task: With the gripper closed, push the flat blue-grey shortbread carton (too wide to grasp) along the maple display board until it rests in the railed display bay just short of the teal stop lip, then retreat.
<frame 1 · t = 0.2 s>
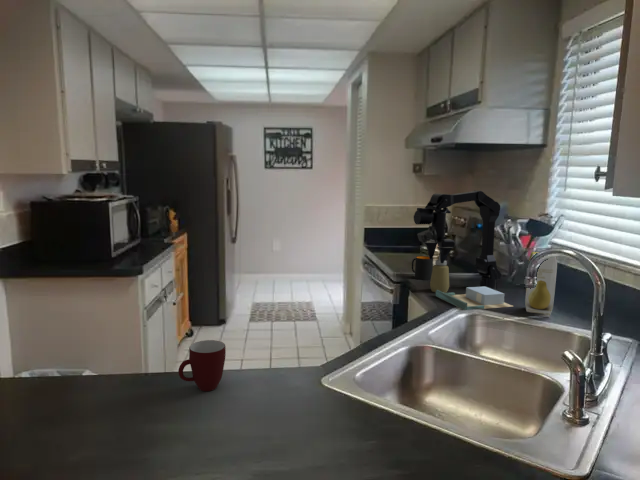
hand: (436, 260, 195), 14 cm above the worktop, fingers open, 9 cm apart
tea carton: (484, 300, 186), point 1 cm above the worktop, touching display board
display board: (473, 303, 184), on the worktop
squeeze bottle: (439, 294, 199), on the worktop
juice carton: (537, 314, 173), on the worktop
mug 2: (420, 277, 229), on the worktop
mug: (202, 389, 107), on the worktop
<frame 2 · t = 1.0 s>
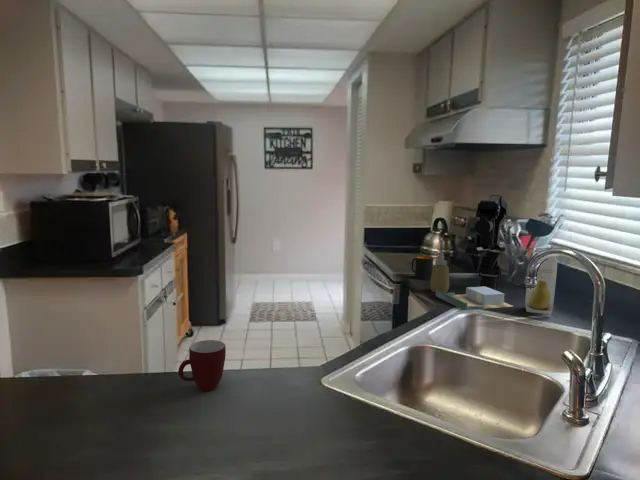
hand: (483, 269, 189), 13 cm above the worktop, fingers open, 9 cm apart
nothing on the worktop moved.
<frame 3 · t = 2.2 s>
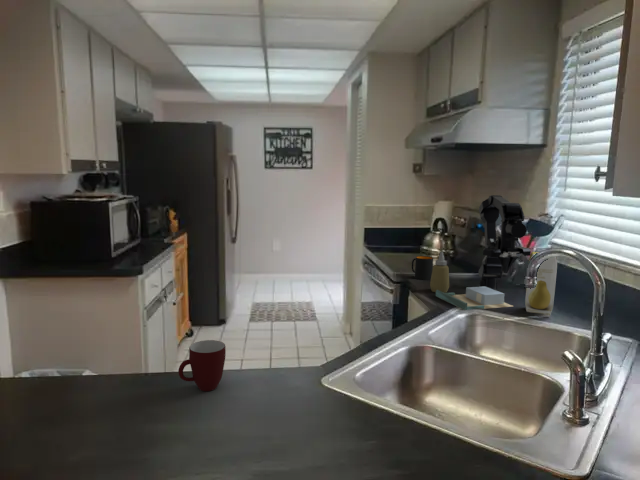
hand: (505, 273, 187), 12 cm above the worktop, fingers closed
nothing on the worktop moved.
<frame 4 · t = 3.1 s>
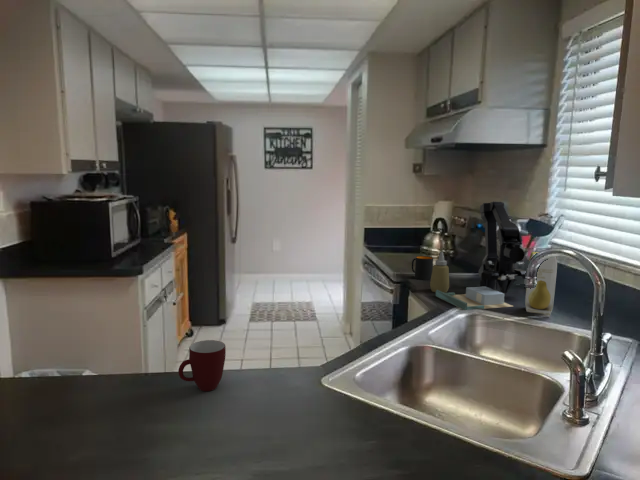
hand: (503, 295, 188), 3 cm above the worktop, fingers closed
nothing on the worktop moved.
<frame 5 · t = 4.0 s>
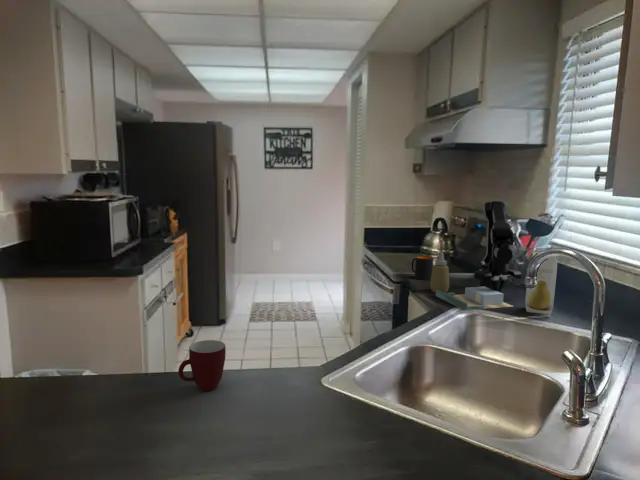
hand: (496, 295, 187), 3 cm above the worktop, fingers closed
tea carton: (483, 300, 185), point 1 cm above the worktop, touching display board, gripper
everything else where it was.
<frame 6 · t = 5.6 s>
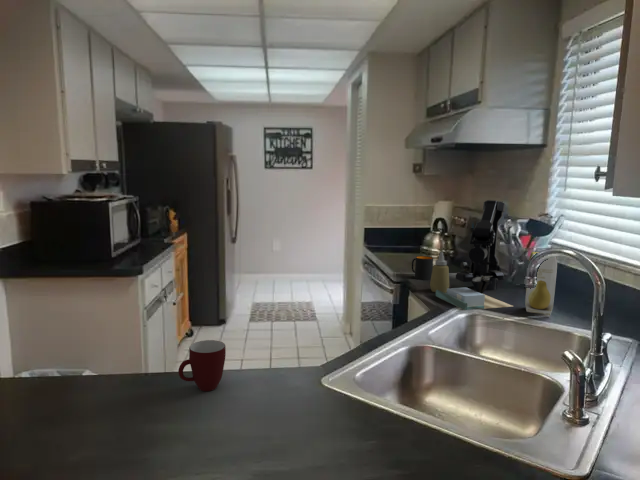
hand: (478, 297, 184), 3 cm above the worktop, fingers closed
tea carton: (464, 301, 183), point 1 cm above the worktop, touching display board, gripper
everything else where it was.
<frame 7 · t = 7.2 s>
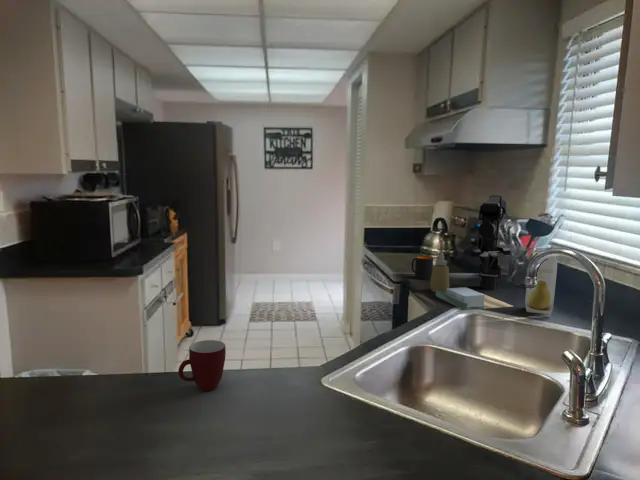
hand: (485, 272, 189), 12 cm above the worktop, fingers closed
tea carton: (464, 301, 183), point 1 cm above the worktop, touching display board
everything else where it was.
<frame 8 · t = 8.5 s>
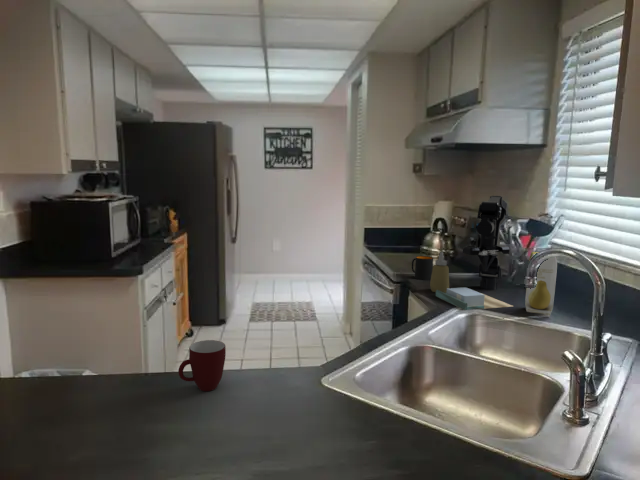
hand: (484, 270, 190), 12 cm above the worktop, fingers closed
nothing on the worktop moved.
at the end: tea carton inside the target area (0.1 cm from its centre), point 1.2 cm above the worktop; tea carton tilted 0°; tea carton touching display board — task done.
